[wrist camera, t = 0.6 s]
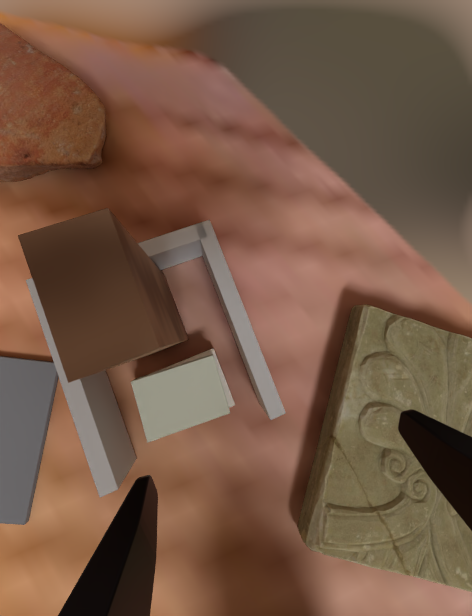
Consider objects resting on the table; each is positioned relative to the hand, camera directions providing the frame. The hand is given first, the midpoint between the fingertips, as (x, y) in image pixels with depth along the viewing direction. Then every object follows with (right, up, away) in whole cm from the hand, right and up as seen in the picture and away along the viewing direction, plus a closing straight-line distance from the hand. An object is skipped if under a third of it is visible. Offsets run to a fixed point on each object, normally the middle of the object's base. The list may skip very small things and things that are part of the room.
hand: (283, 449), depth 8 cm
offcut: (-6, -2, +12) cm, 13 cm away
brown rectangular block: (-8, +4, +13) cm, 16 cm away
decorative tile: (+15, -7, +15) cm, 22 cm away
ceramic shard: (-21, +19, +14) cm, 31 cm away
